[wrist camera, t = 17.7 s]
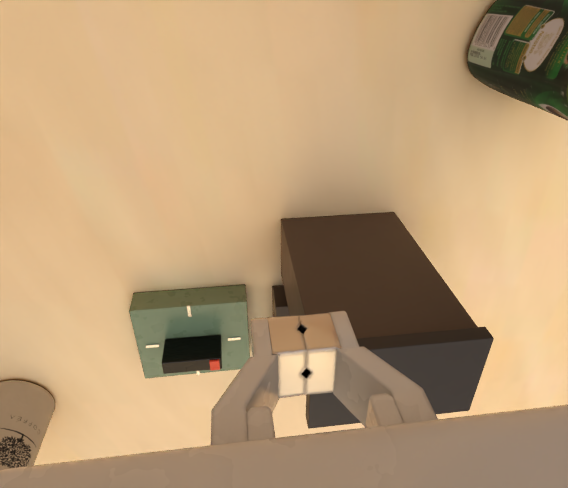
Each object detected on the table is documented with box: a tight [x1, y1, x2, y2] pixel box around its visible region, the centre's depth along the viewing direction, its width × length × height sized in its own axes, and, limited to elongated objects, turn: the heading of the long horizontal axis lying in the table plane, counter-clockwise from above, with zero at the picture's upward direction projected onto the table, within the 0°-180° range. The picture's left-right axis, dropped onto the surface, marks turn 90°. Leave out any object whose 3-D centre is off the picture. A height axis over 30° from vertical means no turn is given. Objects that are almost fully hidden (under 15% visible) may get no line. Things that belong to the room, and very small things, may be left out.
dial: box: [162, 335, 222, 374], centre depth 47 cm, size 6×2×4 cm, turn 90°
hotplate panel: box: [129, 285, 250, 378], centre depth 49 cm, size 12×10×3 cm
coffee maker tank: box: [281, 212, 493, 428], centre depth 39 cm, size 13×8×19 cm, turn 90°
